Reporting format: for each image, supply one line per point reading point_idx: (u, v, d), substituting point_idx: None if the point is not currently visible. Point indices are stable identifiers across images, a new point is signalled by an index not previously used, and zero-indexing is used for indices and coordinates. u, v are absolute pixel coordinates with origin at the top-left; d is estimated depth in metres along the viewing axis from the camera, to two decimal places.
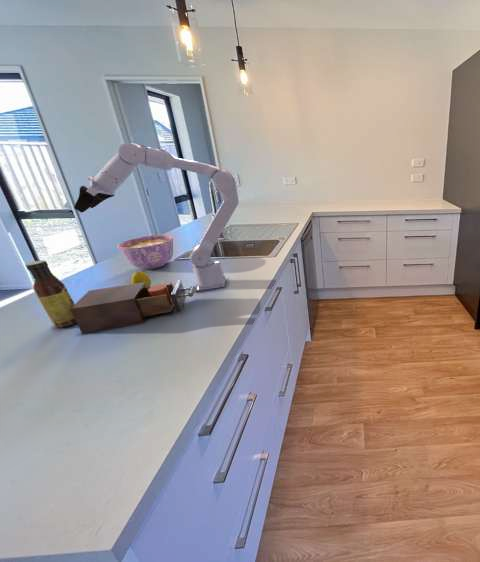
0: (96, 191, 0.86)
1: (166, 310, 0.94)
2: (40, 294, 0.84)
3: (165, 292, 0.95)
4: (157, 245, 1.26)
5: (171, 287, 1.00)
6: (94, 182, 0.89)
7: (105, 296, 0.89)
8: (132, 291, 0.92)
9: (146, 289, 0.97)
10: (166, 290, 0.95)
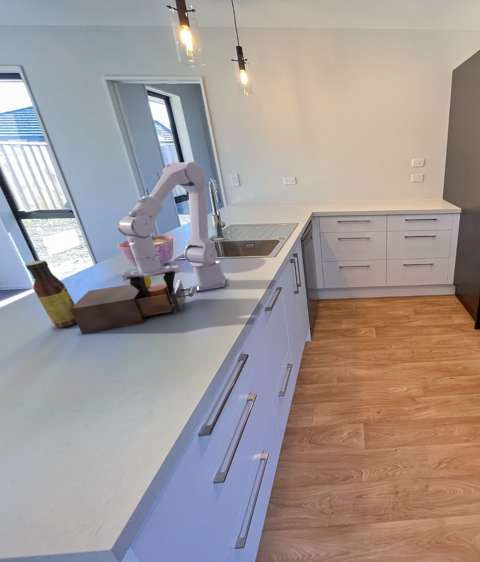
0: None
1: (166, 310, 0.94)
2: (40, 294, 0.84)
3: (165, 292, 0.95)
4: (157, 245, 1.26)
5: None
6: (158, 270, 0.91)
7: (105, 296, 0.89)
8: (132, 291, 0.92)
9: None
10: (166, 290, 0.95)
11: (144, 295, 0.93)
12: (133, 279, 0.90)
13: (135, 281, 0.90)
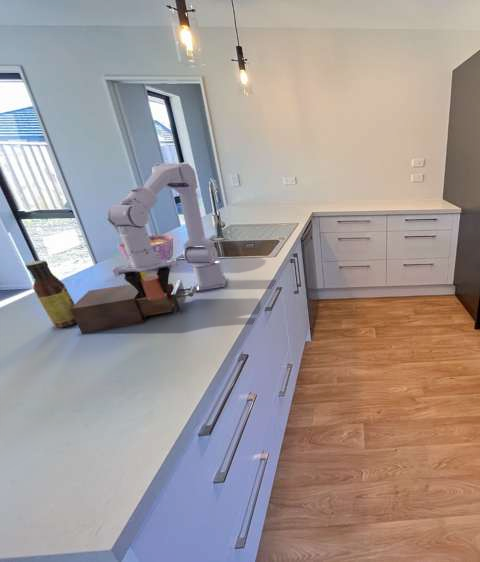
0: None
1: (166, 310, 0.94)
2: (40, 294, 0.84)
3: (159, 282, 0.86)
4: (157, 245, 1.26)
5: (171, 287, 1.00)
6: (153, 264, 0.83)
7: (105, 296, 0.89)
8: (132, 291, 0.92)
9: None
10: None
11: (140, 292, 0.84)
12: (128, 274, 0.82)
13: (130, 276, 0.82)
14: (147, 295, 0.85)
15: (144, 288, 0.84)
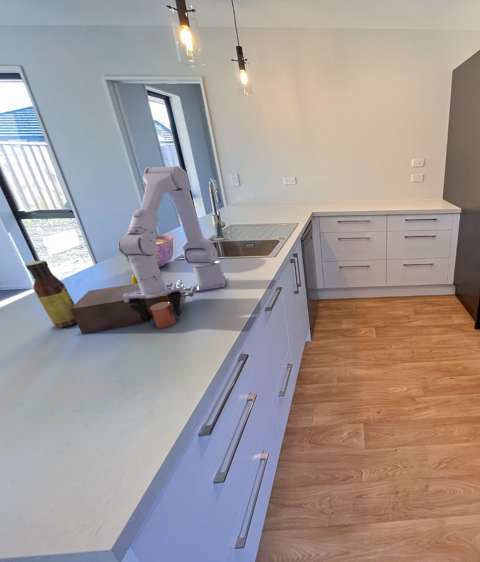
0: None
1: None
2: (40, 294, 0.84)
3: (168, 311, 0.88)
4: (157, 245, 1.26)
5: None
6: (162, 290, 0.85)
7: (105, 296, 0.89)
8: (132, 291, 0.92)
9: None
10: (169, 308, 0.89)
11: (145, 317, 0.86)
12: (133, 301, 0.84)
13: (135, 303, 0.83)
14: (157, 323, 0.88)
15: (154, 316, 0.87)
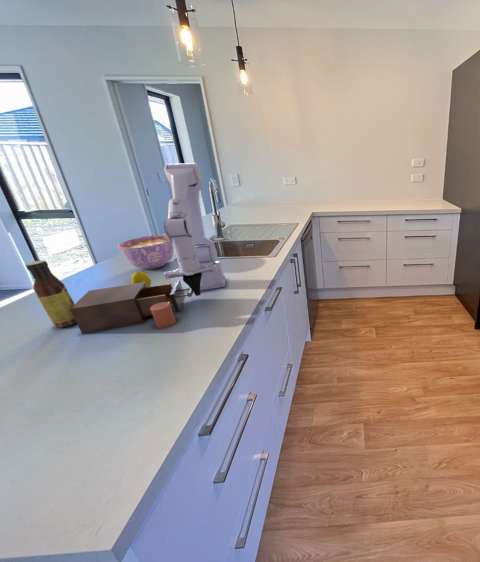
0: None
1: None
2: (40, 294, 0.84)
3: (168, 311, 0.88)
4: (157, 245, 1.26)
5: (170, 287, 1.00)
6: (198, 269, 0.96)
7: (105, 296, 0.89)
8: (132, 291, 0.92)
9: (145, 289, 0.97)
10: (169, 308, 0.89)
11: (195, 291, 0.98)
12: (185, 276, 0.96)
13: (188, 278, 0.95)
14: (157, 323, 0.88)
15: (154, 316, 0.87)
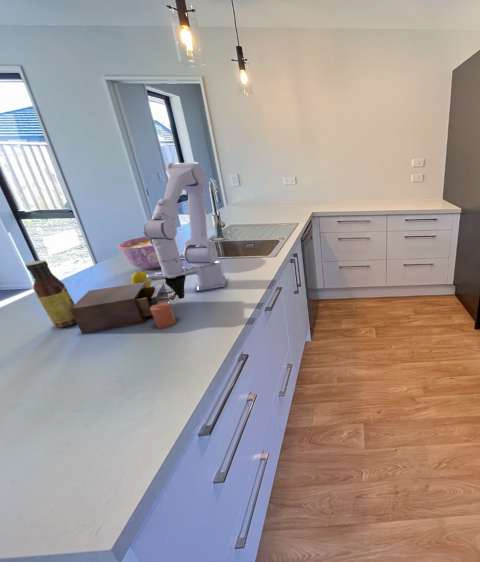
0: None
1: (147, 313, 0.92)
2: (40, 294, 0.84)
3: (168, 311, 0.88)
4: None
5: (153, 290, 0.98)
6: (181, 271, 0.94)
7: (105, 296, 0.89)
8: (132, 291, 0.92)
9: None
10: (169, 308, 0.89)
11: (178, 294, 0.97)
12: (168, 279, 0.94)
13: (170, 281, 0.94)
14: (157, 323, 0.88)
15: (154, 316, 0.87)
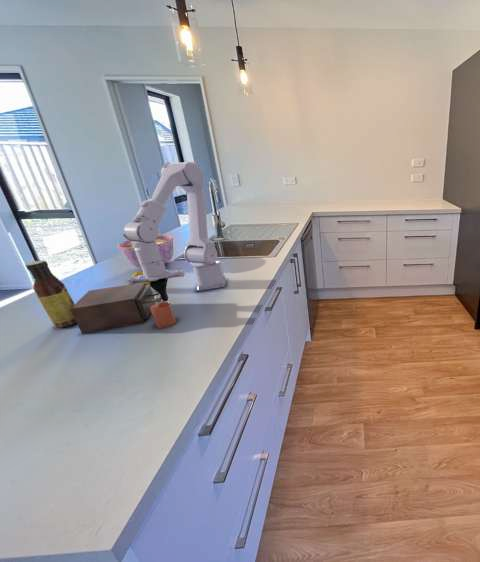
0: None
1: None
2: (40, 294, 0.84)
3: (168, 311, 0.88)
4: None
5: None
6: (163, 274, 0.92)
7: (105, 296, 0.89)
8: (132, 291, 0.92)
9: None
10: (169, 308, 0.89)
11: (163, 297, 0.95)
12: (153, 281, 0.93)
13: None
14: (157, 323, 0.88)
15: (154, 316, 0.87)
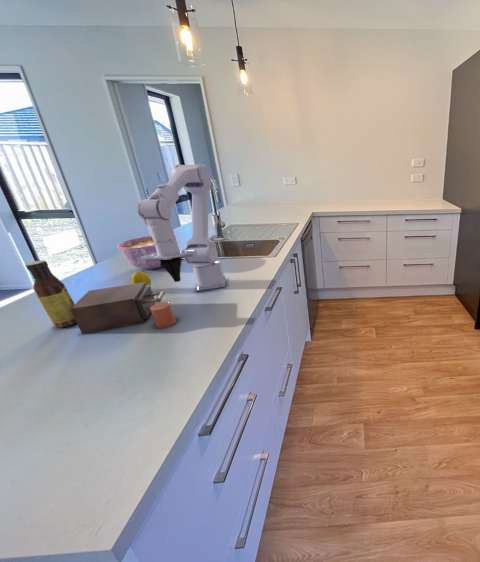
0: None
1: None
2: (40, 294, 0.84)
3: (168, 311, 0.88)
4: None
5: None
6: (176, 253, 0.92)
7: (105, 296, 0.89)
8: (132, 291, 0.92)
9: None
10: (169, 308, 0.89)
11: (173, 277, 0.94)
12: (163, 261, 0.92)
13: (165, 263, 0.91)
14: (157, 323, 0.88)
15: (154, 316, 0.87)
